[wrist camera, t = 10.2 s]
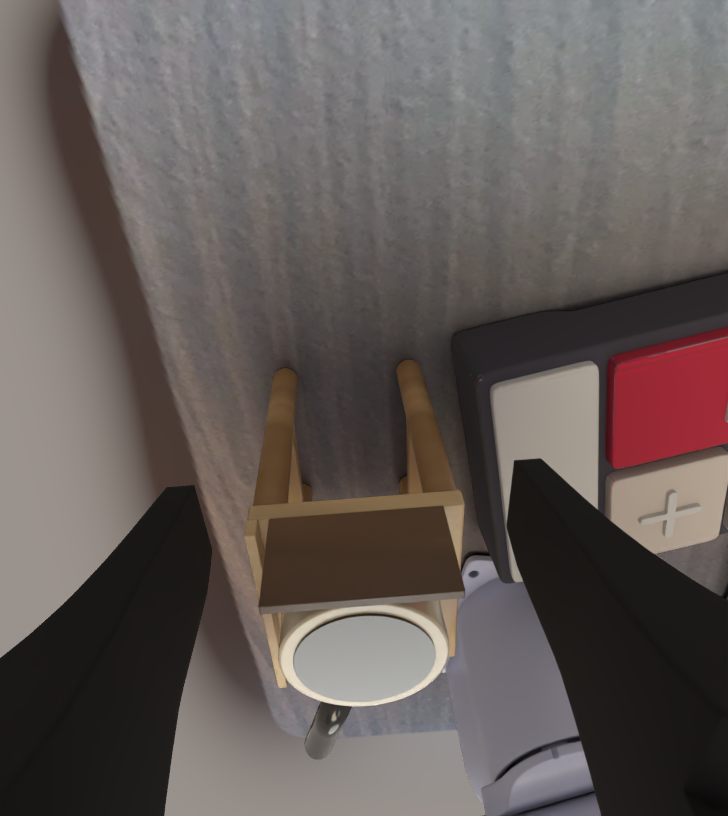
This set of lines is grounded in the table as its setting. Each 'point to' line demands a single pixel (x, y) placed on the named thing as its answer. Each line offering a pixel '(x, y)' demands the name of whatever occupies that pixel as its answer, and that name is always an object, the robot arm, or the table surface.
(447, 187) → the table surface
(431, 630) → the pan
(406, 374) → the stand
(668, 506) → the calculator
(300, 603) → the wooden l-shaped block
